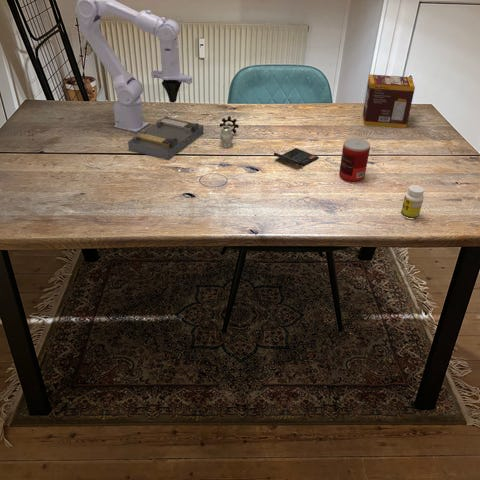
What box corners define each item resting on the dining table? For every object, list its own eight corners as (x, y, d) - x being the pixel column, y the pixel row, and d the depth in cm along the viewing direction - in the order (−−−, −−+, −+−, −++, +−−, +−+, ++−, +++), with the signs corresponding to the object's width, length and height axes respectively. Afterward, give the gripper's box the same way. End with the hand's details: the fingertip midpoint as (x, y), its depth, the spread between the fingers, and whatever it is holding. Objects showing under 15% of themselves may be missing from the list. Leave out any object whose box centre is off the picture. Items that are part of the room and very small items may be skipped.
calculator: (318, 159, 171) (319, 150, 169) (296, 171, 164) (297, 162, 162) (295, 150, 176) (296, 141, 174) (273, 161, 169) (273, 152, 167)
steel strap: (160, 123, 182) (160, 120, 182) (164, 120, 184) (164, 117, 184) (190, 130, 178) (190, 127, 178) (195, 127, 180) (195, 124, 180)
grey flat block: (128, 150, 172) (127, 136, 169) (166, 125, 189) (165, 112, 186) (168, 160, 167) (167, 146, 164) (203, 133, 184) (203, 120, 181)
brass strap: (137, 138, 172) (136, 135, 171) (142, 135, 174) (142, 132, 173) (169, 146, 168) (168, 143, 167) (173, 143, 170) (173, 139, 169)
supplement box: (361, 114, 202) (368, 73, 193) (403, 117, 201) (411, 76, 192) (363, 125, 194) (370, 83, 185) (406, 128, 192) (415, 86, 183)
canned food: (366, 173, 163) (372, 140, 157) (362, 185, 157) (368, 151, 151) (341, 168, 165) (346, 136, 159) (336, 180, 159) (341, 146, 152)
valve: (235, 149, 174) (238, 134, 184) (236, 130, 171) (239, 116, 180) (215, 148, 175) (219, 133, 185) (215, 129, 171) (219, 115, 181)
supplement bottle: (398, 210, 146) (404, 183, 141) (414, 210, 146) (421, 183, 141) (404, 220, 142) (410, 193, 137) (421, 219, 142) (428, 192, 137)
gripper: (144, 61, 171) (148, 101, 179) (183, 67, 166) (185, 108, 174) (156, 55, 176) (159, 95, 184) (194, 61, 172) (196, 102, 179)
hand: (173, 101), depth 180 cm, fingers closed
